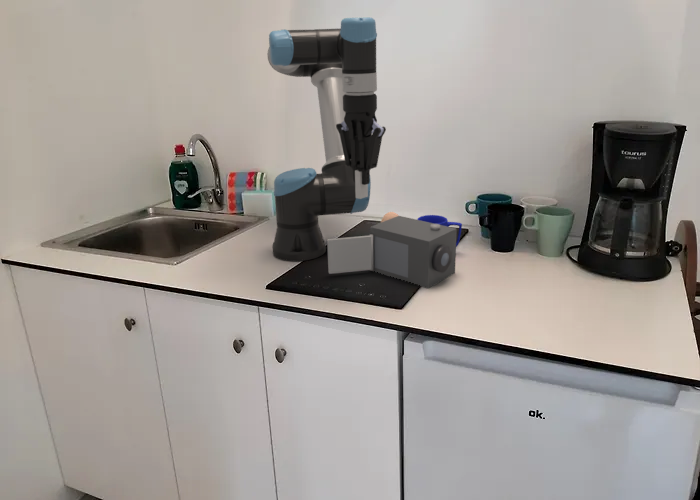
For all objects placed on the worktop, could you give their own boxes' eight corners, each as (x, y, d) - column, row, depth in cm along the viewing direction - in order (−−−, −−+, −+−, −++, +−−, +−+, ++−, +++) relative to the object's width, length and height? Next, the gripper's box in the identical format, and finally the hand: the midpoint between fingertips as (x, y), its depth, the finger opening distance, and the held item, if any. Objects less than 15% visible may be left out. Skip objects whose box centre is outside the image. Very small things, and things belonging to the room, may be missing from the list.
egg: (387, 242, 169) (387, 216, 166) (376, 236, 175) (376, 211, 172) (406, 238, 172) (406, 213, 169) (394, 232, 178) (394, 207, 175)
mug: (460, 260, 154) (461, 224, 151) (415, 258, 157) (415, 223, 153) (460, 249, 162) (462, 215, 158) (418, 247, 164) (418, 214, 161)
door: (372, 268, 149) (372, 233, 146) (374, 270, 147) (373, 235, 144) (328, 272, 147) (326, 237, 144) (329, 274, 146) (327, 239, 142)
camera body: (370, 270, 149) (369, 223, 145) (398, 257, 158) (398, 212, 153) (433, 290, 137) (435, 239, 132) (460, 274, 145) (462, 226, 141)
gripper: (326, 93, 127) (330, 196, 135) (371, 96, 119) (372, 205, 127) (349, 90, 132) (351, 189, 141) (393, 93, 124) (393, 198, 132)
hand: (361, 197), depth 134 cm, fingers closed
